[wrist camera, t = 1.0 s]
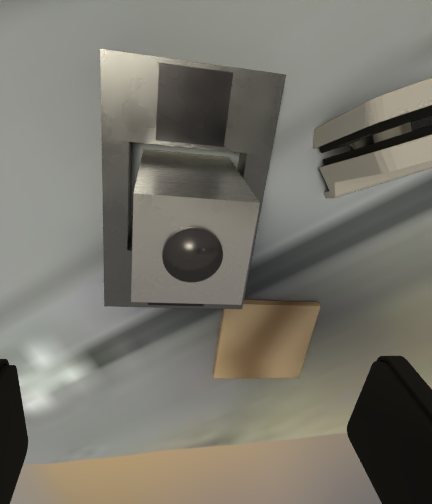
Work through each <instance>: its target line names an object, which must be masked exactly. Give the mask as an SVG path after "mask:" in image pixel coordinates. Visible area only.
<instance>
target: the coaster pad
mask: <svg viewBox="0 0 432 504" xmlns="http://www.w3.org/2000/svg"><path fill="white" fill-rule="evenodd" d="M320 307H321V306H320V305H319V303H318V302H299V301H264V300H244V303H243V308H242V309H223V312H222V318H221V324H220V331H219V337H218V343H217V350H216V356H215V362H214V369H213V378H299V376H300V373H301V370H302V366H303V363H304V360H305V356H306V353H307V350H308V346H309V343H310V340H311V336H312V333H313V330H314V326H315V323H316V320H317V316H318V313H319V310H320Z"/></svg>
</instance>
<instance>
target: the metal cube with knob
mask: <svg viewBox="0 0 432 504" xmlns="http://www.w3.org/2000/svg"><path fill="white" fill-rule="evenodd" d="M259 206H260V202H259V201H258V199H257V198H256V196H255V195H254V193H253V192H252V191H251V189H250V188H249V186H248V185H247V183H246V182H245V181H244V179H243V178H242V176H241V175H240V173H239V172H238V170H237V169H236V168H235V166H234V165H233V163H232V162H231V160H230V159H229V158H228V157H223V156H213V155H202V154H192V153H181V152H171V151H161V150H150V149H143V153H142V157H141V162H140V166H139V171H138V175H137V180H136V184H135V189H134V193H133V238H132V283H131V302H150V303H189V304H227V305H241V304H242V298H243V293H244V287H245V282H246V276H247V271H248V265H249V260H250V255H251V249H252V244H253V238H254V233H255V227H256V222H257V217H258V211H259Z"/></svg>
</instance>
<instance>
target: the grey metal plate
mask: <svg viewBox="0 0 432 504" xmlns="http://www.w3.org/2000/svg"><path fill="white" fill-rule="evenodd" d="M100 62H101V121H102V181H103V241H104V301H105V306H121V307H163V308H205V309H242V308H243V303H244V297H245V292H246V287H247V281H248V276H249V271H250V265H251V260H252V255H253V249H254V244H255V238H256V233H257V228H258V222H259V217H260V212H261V206H262V201H263V196H264V190H265V185H266V179H267V174H268V169H269V163H270V158H271V153H272V147H273V142H274V137H275V131H276V126H277V120H278V115H279V110H280V104H281V99H282V94H283V88H284V83H285V78H286V75H284V74H277V73H270V72H263V71H256V70H248V69H241V68H234V67H227V66H219V65H212V64H205V63H198V62H191V61H183V60H176V59H169V58H162V57H155V56H147V55H140V54H133V53H126V52H119V51H111V50H104V49H100ZM131 142H137V143H147V144H157V145H167V146H178V147H188V148H198V149H208V150H218V151H228V152H239V153H240V157H239V163H238V172H239V173H240V175H241V176H242V178H243V179H244V181H245V182H246V183H247V185H248V186H249V188H250V189H251V191H252V192H253V193H254V195H255V196H256V198H257V199H258V201H259V202H260V206H259V211H258V217H257V222H256V227H255V233H254V238H253V244H252V249H251V255H250V260H249V265H248V271H247V276H246V282H245V287H244V293H243V298H242V304H241V305H227V304H189V303H150V302H131V283H132V238H130V191H131Z"/></svg>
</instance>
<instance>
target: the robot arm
mask: <svg viewBox="0 0 432 504" xmlns="http://www.w3.org/2000/svg"><path fill="white" fill-rule="evenodd" d="M347 434H348V437H349V439H350V442H351V443H352V445H353V447H354V449H355V451H356V453H357V455H358V457H359V459H360V461H361V463H362V465H363V467H364V469H365V471H366V473H367V475H368V477H369V479H370V481H371V483H372V485H373V487H374V489H375V491H376V493H377V495H378V496H379V498H380V500H381V502H382V504H432V389H431V388H430V387H429V386H428V385H427V384H426V382H425V381H424V380H423V379H422V378H421V376H420V375H419V374H418V373H417V372H416V370H415V369H414V368H413V367H412V366H411V364H410V363H409V362H408V361H407V360H406V359H405V358H404V357H402V356H380V357H379V358H378V359H377V361H375V362H374V363H373V364H372V366H371V369H370V371H369V374H368V376H367V379H366V381H365V383H364V386H363V388H362V391H361V393H360V396H359V398H358V400H357V403H356V405H355V408H354V410H353V413H352V415H351V417H350V420H349V422H348V425H347ZM27 448H28V436H27V430H26V424H25V417H24V411H23V405H22V399H21V392H20V386H19V380H18V374H17V368H16V366H15V365H9V363H8V360H7V359H0V504H10V501H11V498H12V495H13V492H14V489H15V486H16V483H17V480H18V477H19V474H20V471H21V468H22V466H23V463H24V460H25V457H26V453H27Z"/></svg>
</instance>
